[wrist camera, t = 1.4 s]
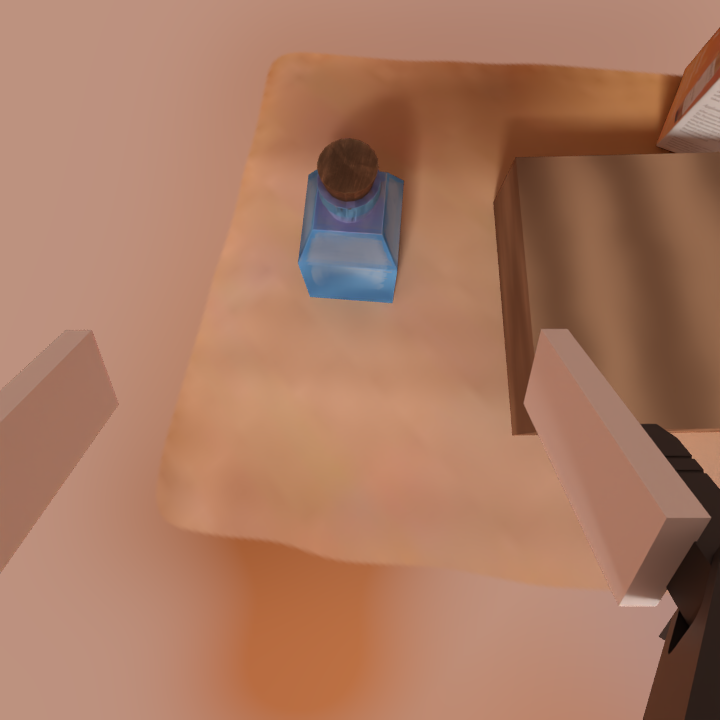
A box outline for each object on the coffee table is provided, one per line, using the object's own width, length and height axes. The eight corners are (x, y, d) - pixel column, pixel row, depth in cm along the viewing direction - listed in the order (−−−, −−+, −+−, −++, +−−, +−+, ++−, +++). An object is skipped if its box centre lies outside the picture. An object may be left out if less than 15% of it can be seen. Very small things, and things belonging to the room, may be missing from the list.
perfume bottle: (318, 221, 36) (294, 109, 25) (397, 227, 36) (411, 116, 24) (310, 296, 35) (280, 216, 23) (392, 303, 35) (404, 225, 23)
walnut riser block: (696, 200, 36) (759, 151, 31) (737, 431, 33) (818, 426, 27) (492, 205, 37) (515, 157, 31) (510, 435, 33) (541, 431, 27)
